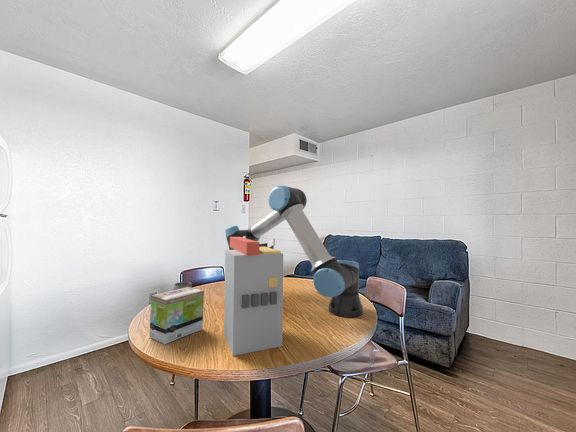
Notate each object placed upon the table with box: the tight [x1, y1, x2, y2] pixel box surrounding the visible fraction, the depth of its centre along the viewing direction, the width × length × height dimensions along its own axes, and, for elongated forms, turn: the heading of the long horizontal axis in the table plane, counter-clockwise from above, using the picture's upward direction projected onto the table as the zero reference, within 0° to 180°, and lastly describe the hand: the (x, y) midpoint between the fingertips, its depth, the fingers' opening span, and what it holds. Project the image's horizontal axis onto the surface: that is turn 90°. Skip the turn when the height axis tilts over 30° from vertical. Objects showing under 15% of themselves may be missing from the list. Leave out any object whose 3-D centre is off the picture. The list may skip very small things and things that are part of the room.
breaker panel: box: [223, 249, 284, 357], centre depth 87 cm, size 17×16×30 cm
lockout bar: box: [230, 237, 260, 256], centre depth 92 cm, size 28×4×4 cm, turn 23°
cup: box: [173, 281, 193, 290], centre depth 123 cm, size 10×9×10 cm
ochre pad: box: [259, 247, 282, 254], centre depth 90 cm, size 16×6×1 cm, turn 23°
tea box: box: [148, 287, 205, 345], centre depth 92 cm, size 15×10×15 cm, turn 148°
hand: (260, 240), depth 111 cm, fingers open, 13 cm apart
